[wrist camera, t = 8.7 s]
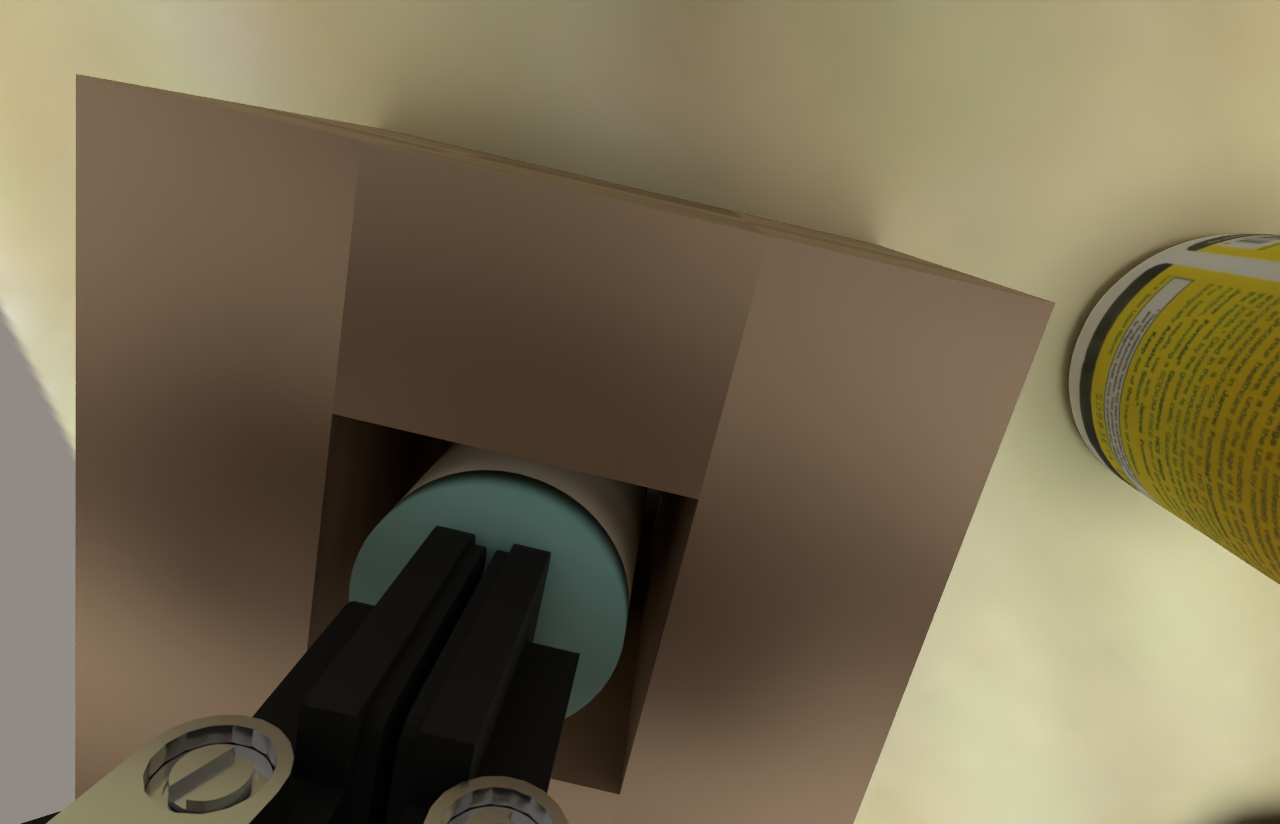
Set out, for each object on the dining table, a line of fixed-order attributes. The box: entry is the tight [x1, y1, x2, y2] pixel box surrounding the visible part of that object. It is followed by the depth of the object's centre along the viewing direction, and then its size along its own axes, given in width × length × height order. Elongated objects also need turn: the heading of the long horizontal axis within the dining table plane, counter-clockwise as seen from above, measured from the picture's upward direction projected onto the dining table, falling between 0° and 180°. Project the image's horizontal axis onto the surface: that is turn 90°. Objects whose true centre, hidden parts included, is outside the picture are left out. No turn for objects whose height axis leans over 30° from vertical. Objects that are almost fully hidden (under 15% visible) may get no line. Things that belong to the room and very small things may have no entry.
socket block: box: [75, 74, 1055, 824], centre depth 17 cm, size 22×12×9 cm, turn 167°
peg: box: [349, 442, 647, 718], centre depth 15 cm, size 4×4×9 cm
